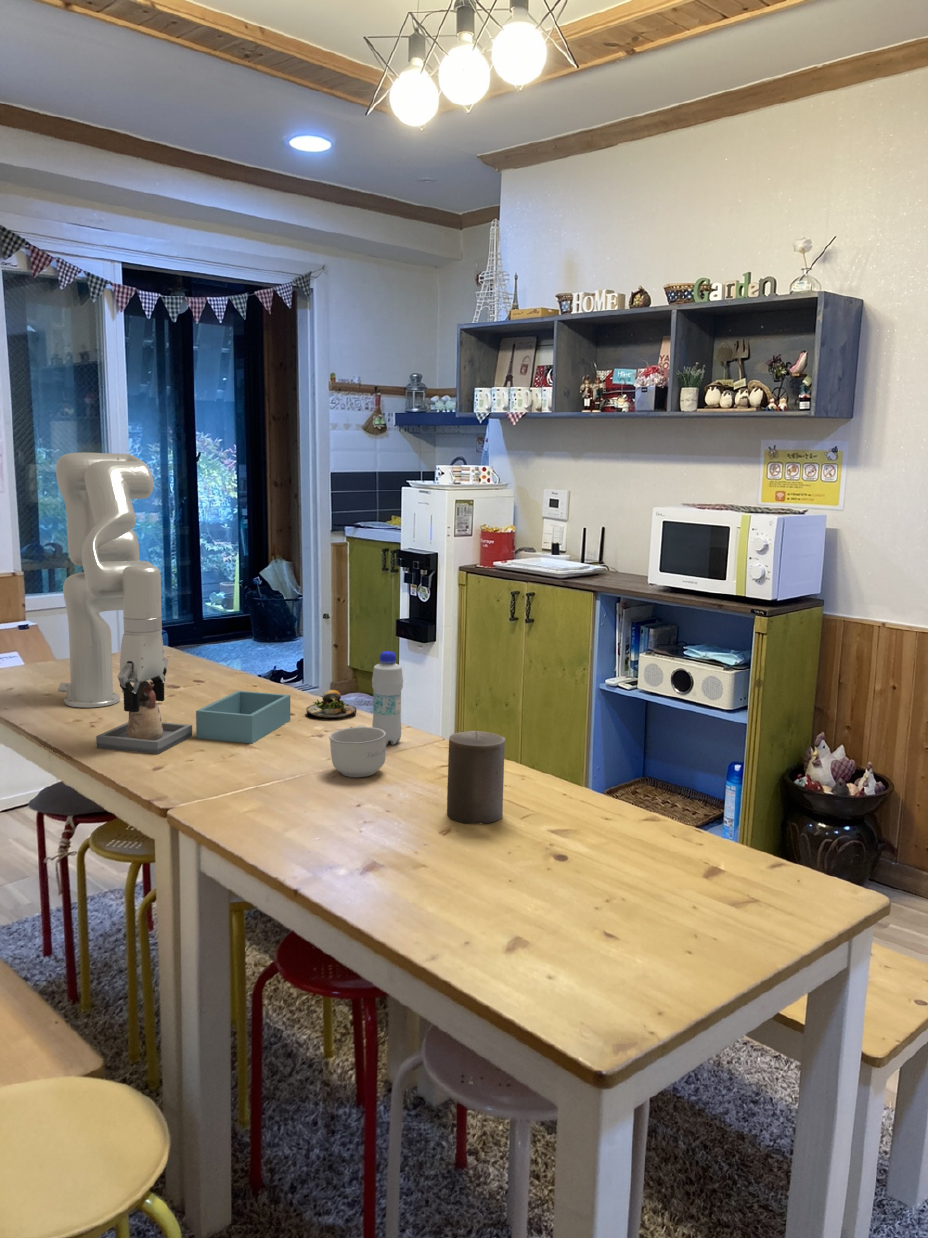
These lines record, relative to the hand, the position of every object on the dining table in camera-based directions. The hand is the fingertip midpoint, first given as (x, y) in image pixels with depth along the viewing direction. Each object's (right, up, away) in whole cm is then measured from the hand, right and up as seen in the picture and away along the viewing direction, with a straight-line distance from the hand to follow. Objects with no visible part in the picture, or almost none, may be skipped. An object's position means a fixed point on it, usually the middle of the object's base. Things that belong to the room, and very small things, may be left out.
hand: (144, 705), depth 208 cm
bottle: (+50, -9, +6) cm, 51 cm away
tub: (+18, -6, +13) cm, 23 cm away
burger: (+35, -5, +28) cm, 45 cm away
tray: (0, -8, +1) cm, 8 cm away
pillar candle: (+69, -16, -36) cm, 79 cm away
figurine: (0, -7, +1) cm, 7 cm away
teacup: (+46, -12, -14) cm, 50 cm away
